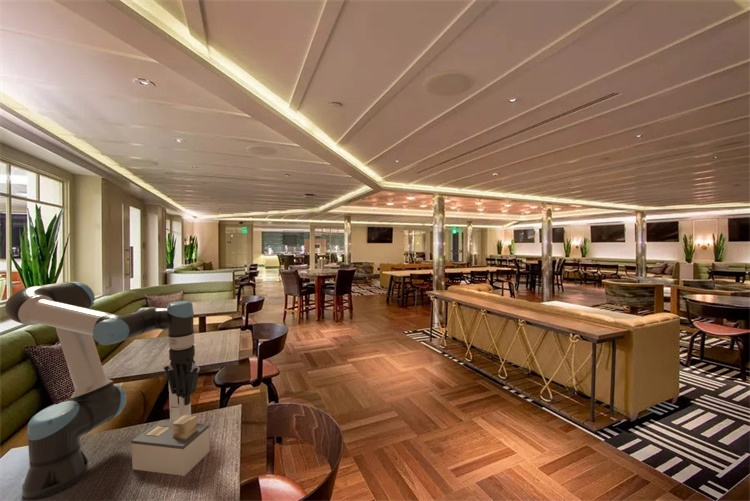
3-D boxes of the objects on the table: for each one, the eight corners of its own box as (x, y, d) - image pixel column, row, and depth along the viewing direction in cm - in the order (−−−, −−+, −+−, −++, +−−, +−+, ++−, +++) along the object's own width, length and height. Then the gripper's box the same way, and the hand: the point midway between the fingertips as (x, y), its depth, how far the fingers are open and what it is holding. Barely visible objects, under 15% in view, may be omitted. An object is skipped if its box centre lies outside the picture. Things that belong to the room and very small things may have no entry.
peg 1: (146, 457, 109) (145, 434, 109) (158, 447, 114) (158, 426, 113) (159, 458, 108) (158, 436, 108) (170, 448, 113) (169, 427, 113)
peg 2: (173, 446, 107) (172, 423, 106) (184, 437, 112) (183, 415, 111) (186, 447, 106) (185, 424, 106) (197, 438, 111) (196, 416, 111)
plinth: (132, 469, 106) (131, 440, 105) (162, 446, 118) (161, 420, 117) (184, 476, 102) (183, 446, 102) (209, 451, 114) (208, 424, 114)
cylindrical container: (181, 439, 121) (179, 376, 120) (166, 437, 123) (163, 375, 122) (195, 428, 128) (193, 369, 127) (181, 427, 130) (178, 367, 129)
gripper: (156, 349, 105) (159, 417, 106) (190, 351, 103) (193, 421, 104) (174, 342, 112) (176, 406, 113) (206, 343, 110) (208, 409, 111)
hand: (184, 413), depth 108 cm, fingers closed
